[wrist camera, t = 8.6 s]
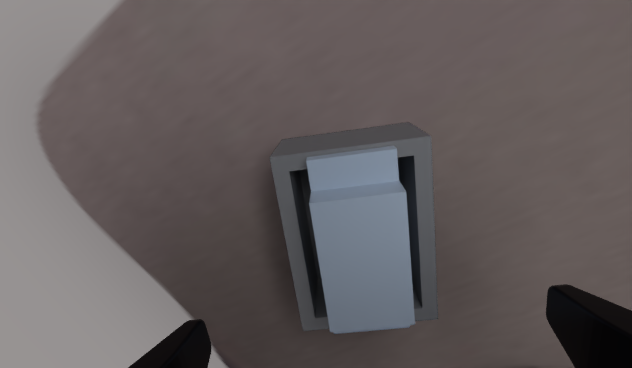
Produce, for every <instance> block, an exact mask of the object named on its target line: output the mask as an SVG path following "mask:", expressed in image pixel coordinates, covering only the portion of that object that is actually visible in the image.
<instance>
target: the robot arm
mask: <svg viewBox="0 0 632 368" xmlns="http://www.w3.org/2000/svg"><path fill="white" fill-rule="evenodd" d="M546 317H547V320H548V322H549V324H550V326H551V328H552V329H553V331H554V333H555V334H556V336H557V338H558V339H559V341H560V343H561V345H562V346H563V348H564V350H565V351H566V353H567V355H568V356H569V358H570V360H571V361H572V363H573V365H574V367H575V368H632V311H631V310H629V309H626V308H624V307H621V306H619V305H616V304H614V303H612V302H609V301H607V300H604V299H602V298H600V297H597V296H595V295H592V294H590V293H588V292H585V291H583V290H580V289H578V288H575V287H573V286H571V285H555V286H551V287H549V289H548V294H547V306H546ZM210 354H211V342H210V338H209V335H208V332H207V328H206V325H205V323H204V321H203V320H201V319H199V320H189V321H187V322H185V323H184V324H183V325H182V326H180V327H179V328H178V329H176V330H175V331H174V332H173V333H171V334H170V335H169V336H168V337H166V338H165V339H164V340H162V341H161V342H160V343H159V344H157V345H156V346H155V347H154V348H152V349H151V350H150V351H149V352H148V353H146V354H145V355H144V356H142V357H141V358H140V359H139V360H137V361H136V362H135V363H134V364H132V365H131V366H130V367H129V368H207V367H208V363H209V358H210Z"/></svg>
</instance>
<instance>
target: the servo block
mask: <svg viewBox="0 0 632 368" xmlns="http://www.w3.org/2000/svg"><path fill="white" fill-rule="evenodd" d="M306 163H307V169H308V176H309V182H310V188H311V195H310V202H309V205H310V212H311V218H312V224H313V230H314V236H315V242H316V248H317V254H318V260H319V267H320V273H321V279H322V285H323V291H324V297H325V303H326V309H327V315H328V321H329V328H330V332H334V334H340V333H351V332H363V331H374V330H385V329H397V328H408V327H410V325H415V316H414V301H413V286H412V271H411V256H410V241H409V226H408V210H407V195H406V190H405V189H404V187H403V186H402V184H401V183H400V181H399V171H398V157H397V148H396V147H395V146H387V147H380V148H372V149H365V150H357V151H350V152H343V153H335V154H328V155H320V156H313V157H307V160H306Z"/></svg>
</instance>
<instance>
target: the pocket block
mask: <svg viewBox="0 0 632 368" xmlns="http://www.w3.org/2000/svg"><path fill="white" fill-rule="evenodd" d="M387 146H395V147H396V148H397V157H398V171H399V181H400V183H401V184H402V186H403V187H404V189H405V190H406V195H407V210H408V226H409V241H410V256H411V271H412V286H413V301H414V316H415V321H423V320H434V319H438V304H437V277H436V251H435V224H434V198H433V171H432V145H431V136H430V135H429V134H427V133H426V132H424V131H423V130H421V129H419V128H418V127H416V126H415V125H413V124H411V123H410V122H407V123H400V124H392V125H385V126H378V127H370V128H363V129H356V130H349V131H341V132H334V133H327V134H319V135H312V136H305V137H297V138H290V139H283V140H282V141H281V142H280V143H279V145H278V146H277V148H276V149H275V150H274V152H273V153H272V155H271V156H270V163H271V168H272V173H273V178H274V183H275V188H276V194H277V199H278V204H279V209H280V214H281V220H282V225H283V230H284V235H285V240H286V246H287V251H288V256H289V261H290V266H291V272H292V277H293V282H294V287H295V292H296V298H297V303H298V308H299V313H300V318H301V324H302V329H303V331H310V330H321V329H330V328H329V321H328V315H327V309H326V303H325V297H324V291H323V285H322V279H321V273H320V267H319V260H318V254H317V248H316V242H315V236H314V230H313V224H312V218H311V212H310V205H309V202H310V195H311V188H310V182H309V176H308V169H307V163H306V160H307V157H313V156H320V155H328V154H335V153H343V152H350V151H357V150H365V149H372V148H380V147H387Z"/></svg>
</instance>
